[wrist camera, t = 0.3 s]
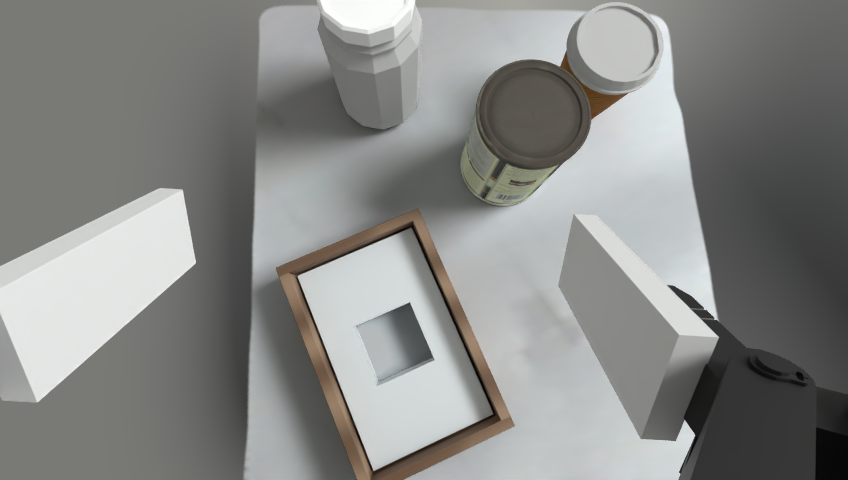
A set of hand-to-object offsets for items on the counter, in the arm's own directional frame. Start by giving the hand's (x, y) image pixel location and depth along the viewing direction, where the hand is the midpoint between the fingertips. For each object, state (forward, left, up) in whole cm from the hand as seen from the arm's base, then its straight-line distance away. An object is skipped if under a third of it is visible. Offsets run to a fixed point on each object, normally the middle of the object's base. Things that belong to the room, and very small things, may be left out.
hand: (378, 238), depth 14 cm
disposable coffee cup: (+13, -29, -35) cm, 47 cm away
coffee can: (+9, -17, -35) cm, 40 cm away
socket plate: (-5, +3, -34) cm, 35 cm away
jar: (+23, -7, -35) cm, 42 cm away
